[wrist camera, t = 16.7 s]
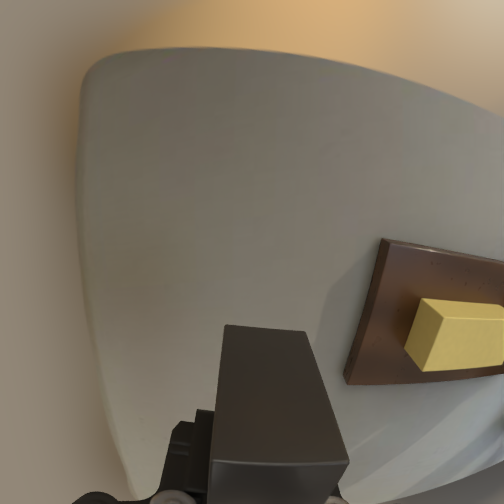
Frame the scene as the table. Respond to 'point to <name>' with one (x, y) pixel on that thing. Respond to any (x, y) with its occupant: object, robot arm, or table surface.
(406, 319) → the board
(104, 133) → the table surface
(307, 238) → the table surface
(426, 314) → the butter
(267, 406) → the knife
